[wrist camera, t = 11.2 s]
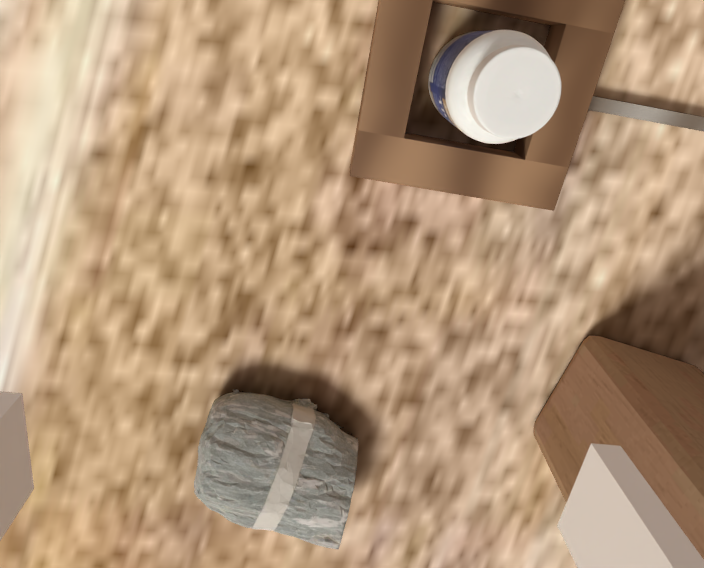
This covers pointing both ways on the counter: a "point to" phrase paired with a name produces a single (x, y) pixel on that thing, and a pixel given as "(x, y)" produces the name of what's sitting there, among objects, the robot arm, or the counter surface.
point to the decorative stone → (277, 467)
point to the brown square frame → (476, 161)
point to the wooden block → (631, 423)
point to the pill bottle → (495, 85)
